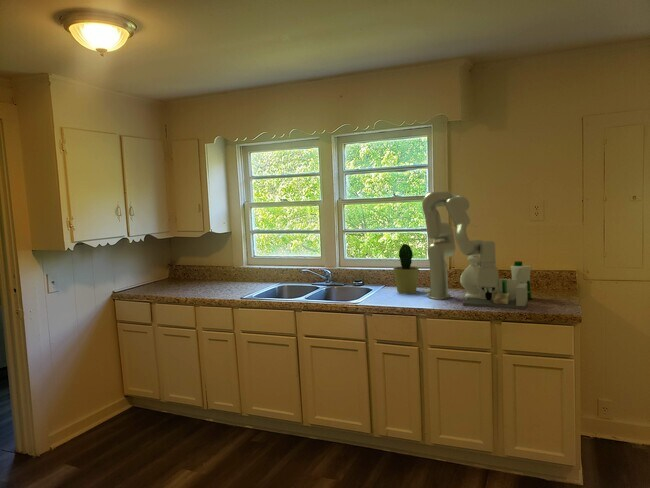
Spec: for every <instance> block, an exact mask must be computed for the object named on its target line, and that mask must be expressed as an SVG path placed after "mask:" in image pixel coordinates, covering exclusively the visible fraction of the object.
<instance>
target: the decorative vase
mask: <svg viewBox="0 0 650 488" xmlns="http://www.w3.org/2000/svg"><path fill="white" fill-rule="evenodd" d="M466 260H467V262H468V263H469V265H468V266H467V267H465V269H464V270H463V271H462V272H461V275H460V278H459V283H460V284H461V286H462V287H463V288H464V289H465V291H466V292H467V293H465V295H464V296H465V297H466V298H481V289H479V288H478V269H479V267H480V265H477V263H479V262H480V254H475V255H469V256H467V258H466Z"/></svg>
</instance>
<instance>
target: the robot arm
mask: <svg viewBox="0 0 650 488" xmlns="http://www.w3.org/2000/svg"><path fill="white" fill-rule="evenodd" d="M421 203H422V204H421V205H422V206H421V207H422V210H423V215H424V221H425V227H426V233H427V237H428V239H430V240H433V241H435V240H439V241H435V242H433V243H431V244H430V245H428V248H427V254H428V255H427V256H428V260H429V277H430V278H429V279H430V288H429V289H423V293H424V294H428V295H427V296H428V299H431V300H432V299H433V300H446V299H451V298H452V297H451V296H452V295H451V294H450V293H449V291H448V290H449V285H448V284H449V283H448V282H449V281H448V264H447V261H446V259H447V258H450V257H453V256H454V255H455V253H456V251H457V250H456V245H457V246H458V248H459V250H460V252H462V254H463V255H465V256H467V257H469V256H470V255H475V254H480V262H479V263H477V265H480V267H479V269H478V288H479V289H482V290H483V291H484V292H485V297H486V298H487V300H491V299H492V292H493V291H494V290H496V289H499V279H500V278H499V271H498V267H496V265H497V263H496V243H495V241H493V240H481V239H473V240H470V239H469V236H468V234H467V228H468V226H469V224H470V223H471V218H470V217H469V215H468V213H467V211H468V210H469V208H470V201H469V199H467V197H466V196H463V195H460V194H457V193H454V192H452V191H448V190H444V191H443V190H442V191H441V190H440V191H439V190H438V191H431V192H429V193H426V195H425V196H424V197H423V198H422V202H421ZM439 207H445V208H446V211H447V212H448V214H449V216H450V217H449V218H450V219H451V221H452V223H453V224H454V227H455V231H454V230H453V227H452V226H451V224H450V223H448V222H445V221H442V220H441V219H442V218H441V214H440V211H439V210H438V209H437V208H439ZM454 234H455V235H454ZM445 258H446V259H445ZM487 287H490V290H489V292H488V289H487Z"/></svg>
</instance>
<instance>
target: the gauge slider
mask: <svg viewBox="0 0 650 488" xmlns="http://www.w3.org/2000/svg"><path fill="white" fill-rule="evenodd" d="M509 301H510V300H509V294H508V293H505V285H504V282H503V293H497V292H496V291H495V292H494V293H493V303H496V304H508V303H509Z"/></svg>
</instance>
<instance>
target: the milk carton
mask: <svg viewBox="0 0 650 488" xmlns="http://www.w3.org/2000/svg"><path fill="white" fill-rule="evenodd" d="M532 267H533V266H532V265H531V266H530V265H526V264H523V261H519V260H517V261H514V264H513V265H510V267H509V268H510V272H511V279H517V285H518V284H519V283H527V301H528V299H529V300H532V295H531V293H532V292H531V270H532Z"/></svg>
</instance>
